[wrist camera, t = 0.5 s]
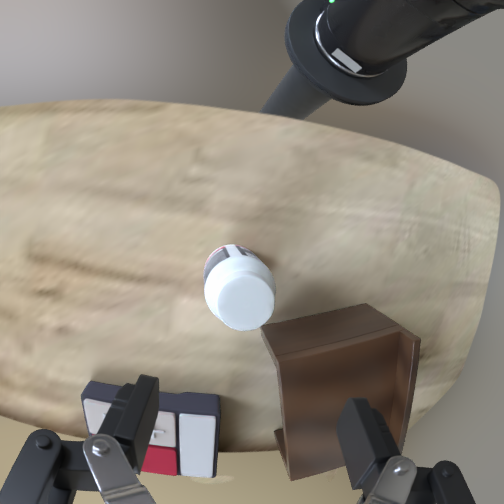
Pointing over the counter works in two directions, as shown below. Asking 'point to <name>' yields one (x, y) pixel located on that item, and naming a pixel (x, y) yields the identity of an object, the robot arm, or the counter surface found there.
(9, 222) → the counter surface
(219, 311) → the pill bottle
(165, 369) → the counter surface
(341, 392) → the spice shelf
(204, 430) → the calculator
